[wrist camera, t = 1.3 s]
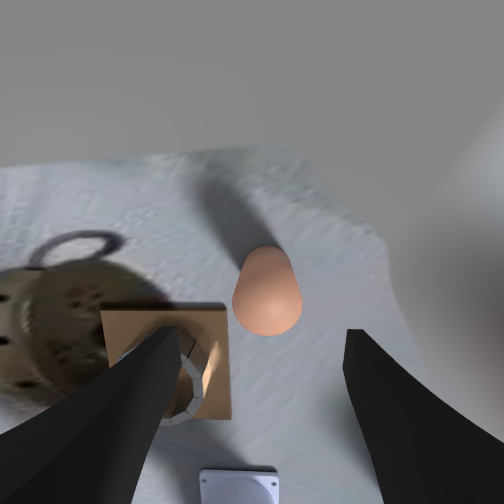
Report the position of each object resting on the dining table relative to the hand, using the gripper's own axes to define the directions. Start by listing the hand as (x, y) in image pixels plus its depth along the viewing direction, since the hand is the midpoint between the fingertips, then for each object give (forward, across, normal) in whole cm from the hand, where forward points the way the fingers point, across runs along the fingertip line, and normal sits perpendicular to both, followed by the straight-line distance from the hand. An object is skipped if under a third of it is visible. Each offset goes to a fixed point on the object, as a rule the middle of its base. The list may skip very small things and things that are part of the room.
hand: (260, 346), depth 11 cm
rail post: (+11, 0, +2) cm, 11 cm away
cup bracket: (+9, +9, +10) cm, 17 cm away
